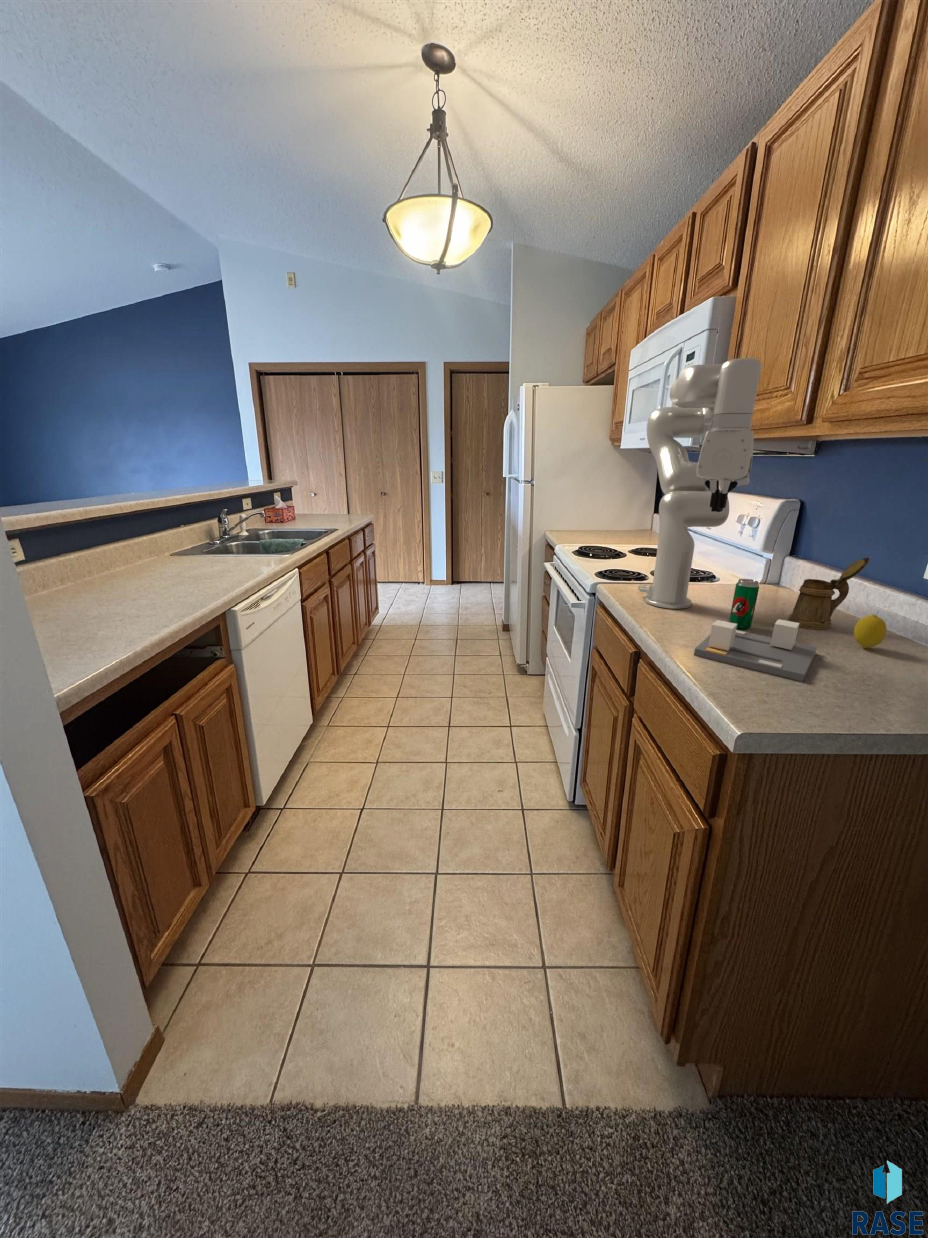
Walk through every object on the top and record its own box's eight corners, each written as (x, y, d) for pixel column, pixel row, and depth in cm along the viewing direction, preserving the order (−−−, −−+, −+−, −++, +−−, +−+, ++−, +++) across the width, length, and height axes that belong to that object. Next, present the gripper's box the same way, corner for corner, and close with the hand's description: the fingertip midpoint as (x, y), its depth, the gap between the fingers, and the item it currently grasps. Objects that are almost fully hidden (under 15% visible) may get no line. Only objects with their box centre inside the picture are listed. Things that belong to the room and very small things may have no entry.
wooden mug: (856, 634, 120) (877, 561, 114) (792, 627, 124) (808, 556, 119) (844, 623, 128) (863, 554, 122) (784, 616, 132) (799, 550, 126)
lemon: (852, 642, 115) (861, 609, 112) (882, 648, 111) (892, 614, 109) (847, 648, 111) (856, 614, 109) (878, 655, 108) (888, 620, 105)
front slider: (708, 646, 107) (712, 624, 106) (713, 641, 110) (717, 620, 108) (728, 650, 105) (732, 628, 103) (733, 645, 108) (737, 623, 106)
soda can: (753, 631, 122) (763, 583, 118) (731, 629, 123) (740, 582, 119) (747, 624, 126) (756, 578, 122) (725, 623, 127) (734, 577, 123)
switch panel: (693, 654, 107) (695, 647, 107) (717, 632, 121) (718, 625, 120) (802, 681, 95) (804, 673, 94) (815, 653, 108) (817, 646, 108)
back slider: (769, 645, 108) (774, 623, 106) (773, 640, 111) (778, 619, 109) (791, 649, 105) (796, 627, 104) (794, 644, 108) (799, 623, 107)
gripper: (689, 424, 107) (677, 510, 113) (767, 422, 98) (749, 515, 104) (699, 425, 113) (687, 507, 119) (774, 423, 104) (757, 512, 110)
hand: (716, 511), depth 111 cm, fingers closed
